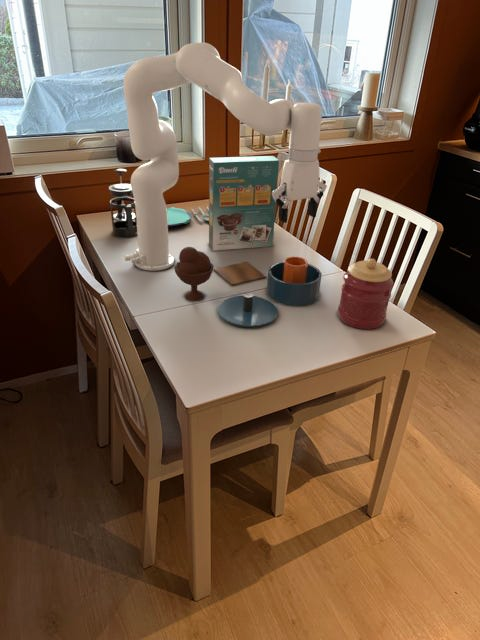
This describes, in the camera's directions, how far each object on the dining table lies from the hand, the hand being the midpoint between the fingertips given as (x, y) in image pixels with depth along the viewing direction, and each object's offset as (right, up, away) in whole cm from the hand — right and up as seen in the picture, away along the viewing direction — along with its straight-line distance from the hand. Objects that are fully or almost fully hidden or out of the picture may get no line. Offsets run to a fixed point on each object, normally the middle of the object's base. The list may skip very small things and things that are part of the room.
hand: (297, 218), depth 139 cm
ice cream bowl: (-29, -21, +7) cm, 37 cm away
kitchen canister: (+18, -28, 0) cm, 33 cm away
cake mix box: (-16, -1, +40) cm, 43 cm away
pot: (0, -20, +11) cm, 23 cm away
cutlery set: (-40, +11, +59) cm, 73 cm away
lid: (-14, -26, 0) cm, 29 cm away
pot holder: (-16, -13, +20) cm, 29 cm away
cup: (0, -20, +11) cm, 22 cm away
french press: (-58, +4, +46) cm, 74 cm away
